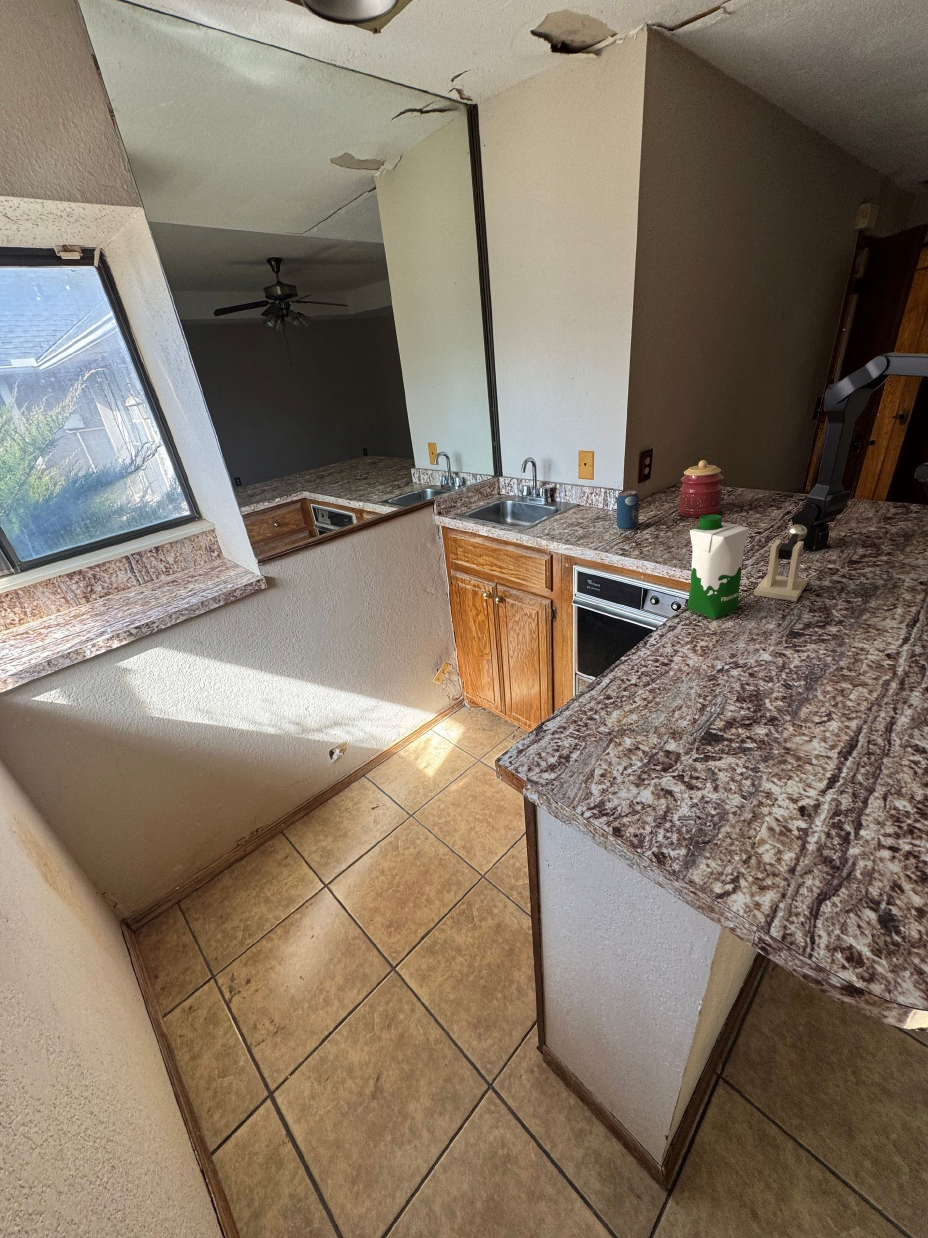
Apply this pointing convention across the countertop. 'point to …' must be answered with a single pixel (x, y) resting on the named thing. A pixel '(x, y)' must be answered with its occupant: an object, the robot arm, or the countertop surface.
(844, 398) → the robot arm
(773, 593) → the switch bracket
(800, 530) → the switch lever
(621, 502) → the soda can
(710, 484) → the kitchen canister
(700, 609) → the milk carton
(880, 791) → the countertop surface
